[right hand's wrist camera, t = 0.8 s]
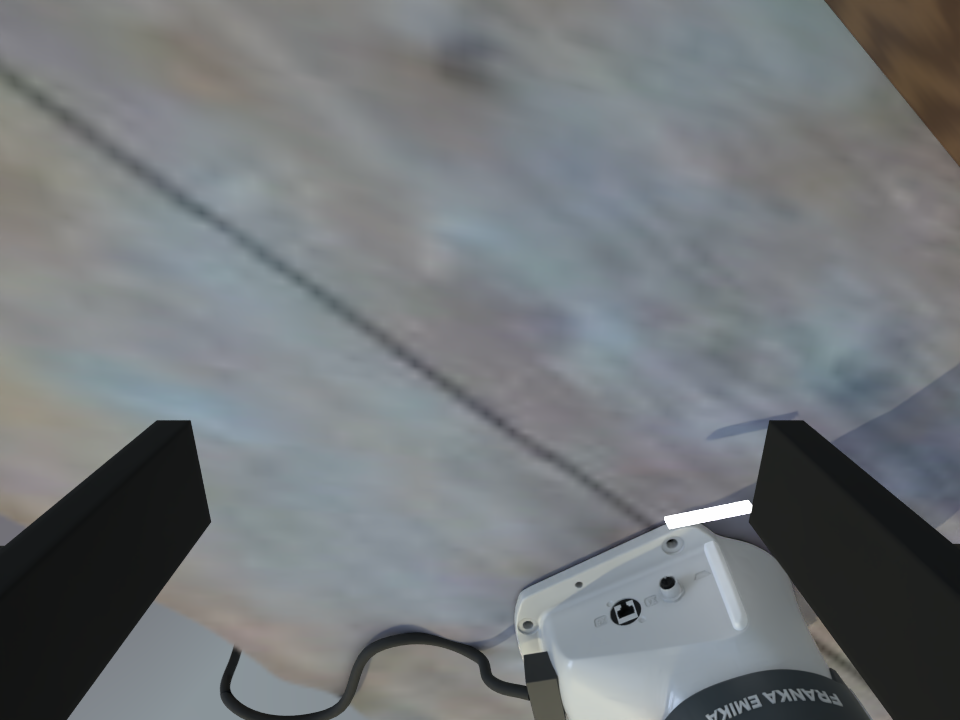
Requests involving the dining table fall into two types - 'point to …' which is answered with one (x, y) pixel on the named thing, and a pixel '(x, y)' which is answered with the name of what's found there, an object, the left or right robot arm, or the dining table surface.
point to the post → (914, 55)
